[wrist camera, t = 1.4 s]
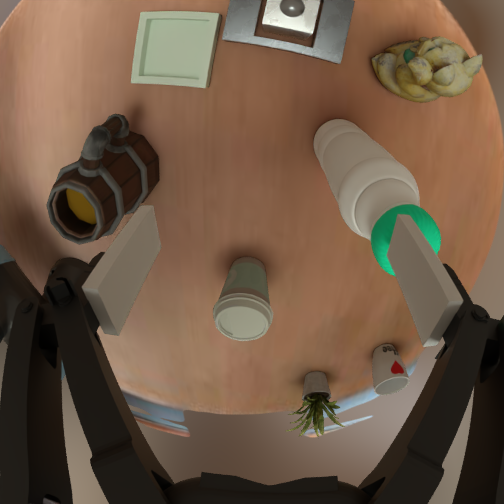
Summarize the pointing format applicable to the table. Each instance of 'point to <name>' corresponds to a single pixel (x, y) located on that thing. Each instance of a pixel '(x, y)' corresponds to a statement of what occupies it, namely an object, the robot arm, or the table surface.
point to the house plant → (316, 402)
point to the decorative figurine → (426, 69)
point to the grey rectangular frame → (323, 46)
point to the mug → (103, 182)
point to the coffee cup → (244, 302)
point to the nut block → (291, 18)
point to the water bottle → (370, 187)
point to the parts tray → (175, 48)
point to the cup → (388, 370)
